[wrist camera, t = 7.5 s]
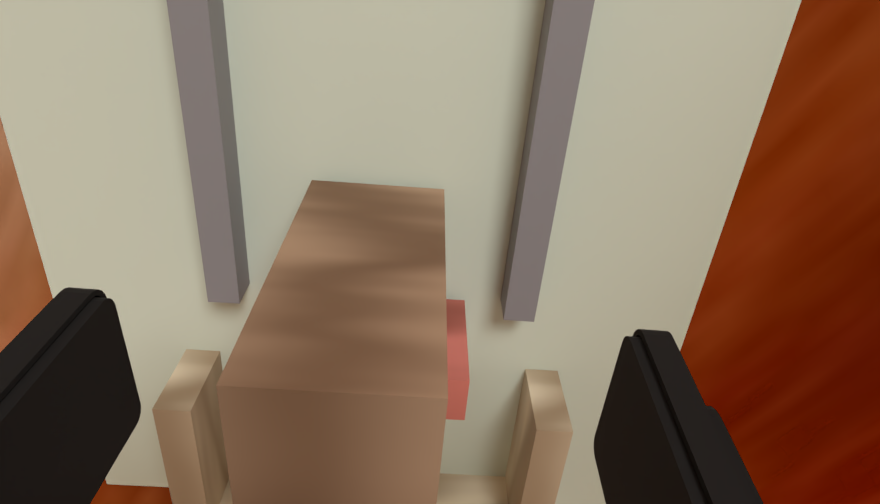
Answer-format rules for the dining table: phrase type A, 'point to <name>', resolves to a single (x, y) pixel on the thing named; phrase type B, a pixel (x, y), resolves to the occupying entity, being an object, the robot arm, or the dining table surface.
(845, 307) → the dining table surface
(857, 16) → the dining table surface
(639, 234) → the board
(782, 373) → the dining table surface
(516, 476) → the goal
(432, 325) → the block
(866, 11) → the dining table surface
